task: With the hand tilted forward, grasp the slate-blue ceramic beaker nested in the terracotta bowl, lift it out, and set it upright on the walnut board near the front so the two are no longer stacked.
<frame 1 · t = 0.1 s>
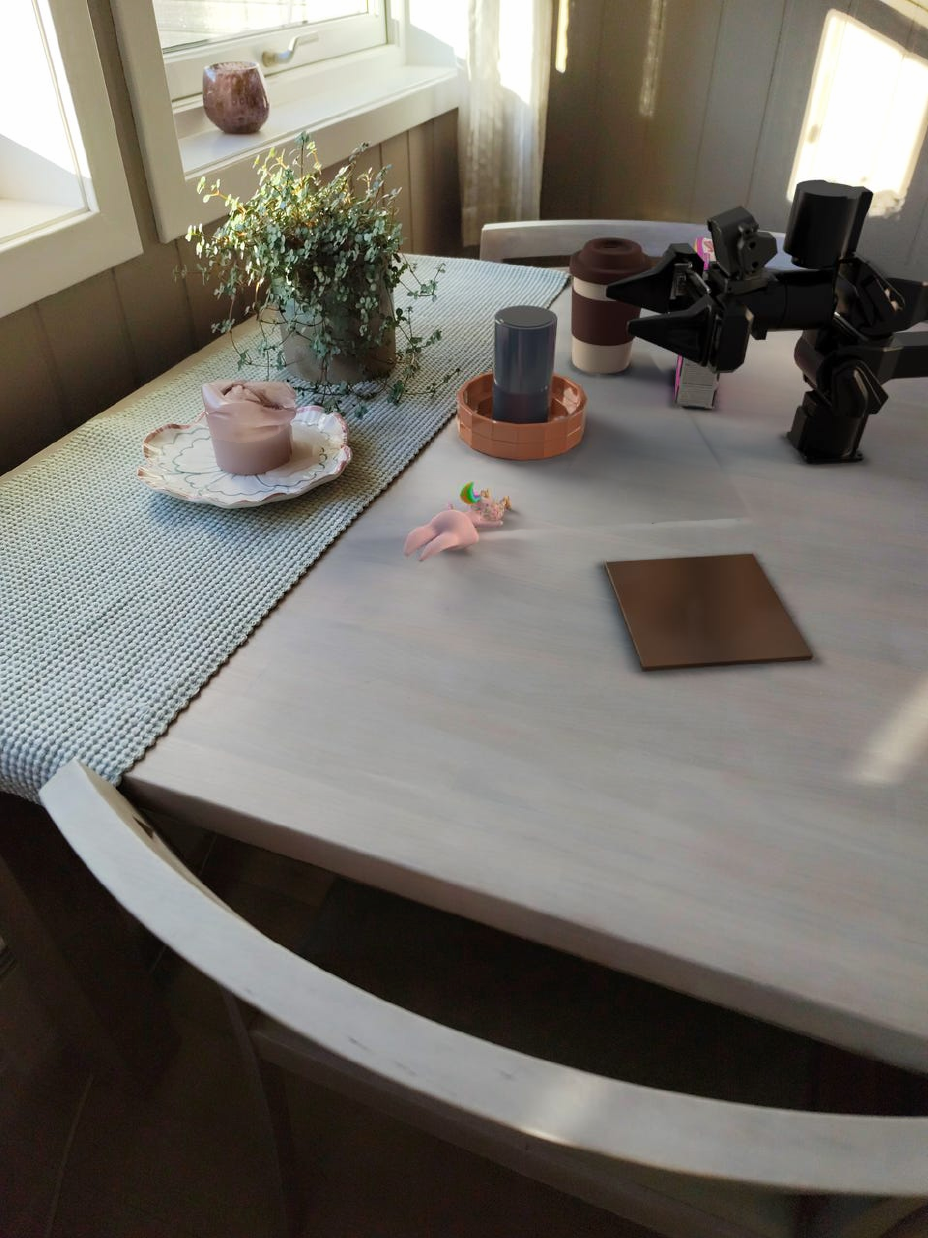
hand: (616, 308, 84), 17 cm above the table, tool horizontal, fingers open, 9 cm apart
coffee cup: (599, 366, 113), on the table
bowl: (520, 432, 99), on the table, touching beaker
rabbit figure: (458, 544, 83), on the table
board: (701, 610, 75), on the table
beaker: (520, 428, 99), resting on bowl
candy bar box: (692, 390, 108), on the table
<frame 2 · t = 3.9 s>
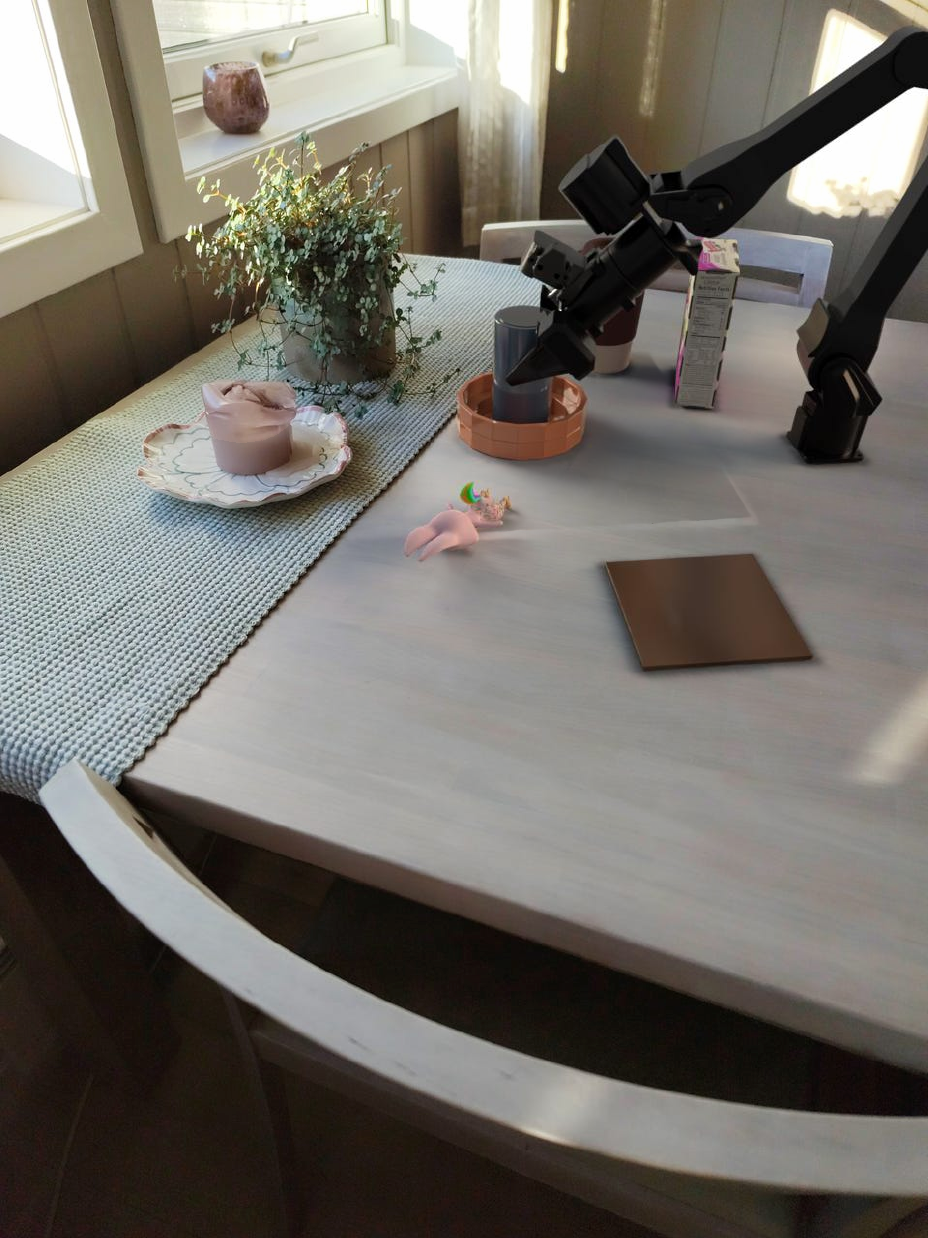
hand: (510, 368, 94), 8 cm above the table, tool tilted 45°, fingers closed on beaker, 6 cm apart
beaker: (520, 428, 99), resting on bowl, touching gripper
everything else where it was.
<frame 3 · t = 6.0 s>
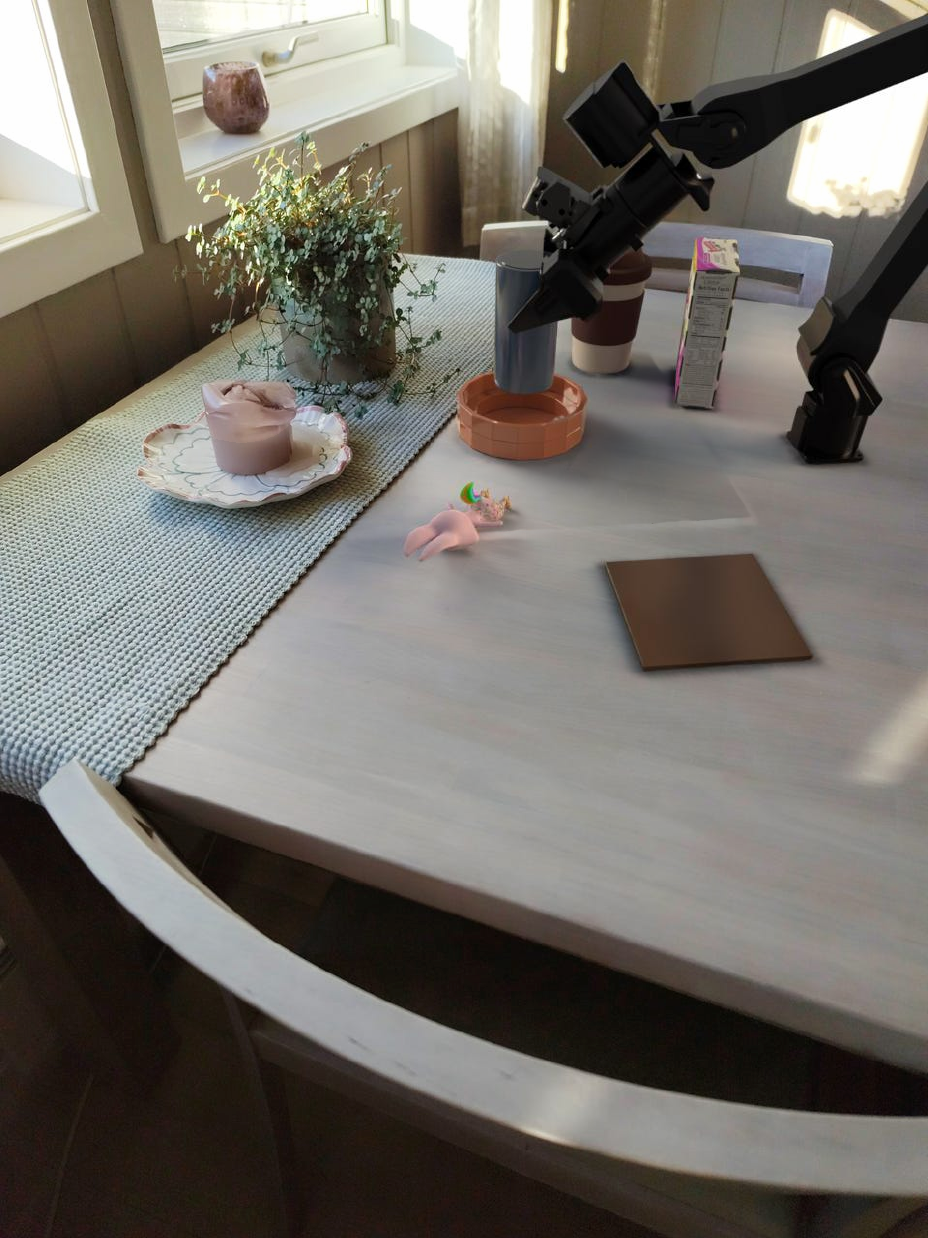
hand: (512, 316, 90), 13 cm above the table, tool tilted 45°, fingers closed on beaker, 6 cm apart
bowl: (520, 432, 99), on the table
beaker: (523, 381, 95), point 6 cm above the table, touching gripper
everything else where it was.
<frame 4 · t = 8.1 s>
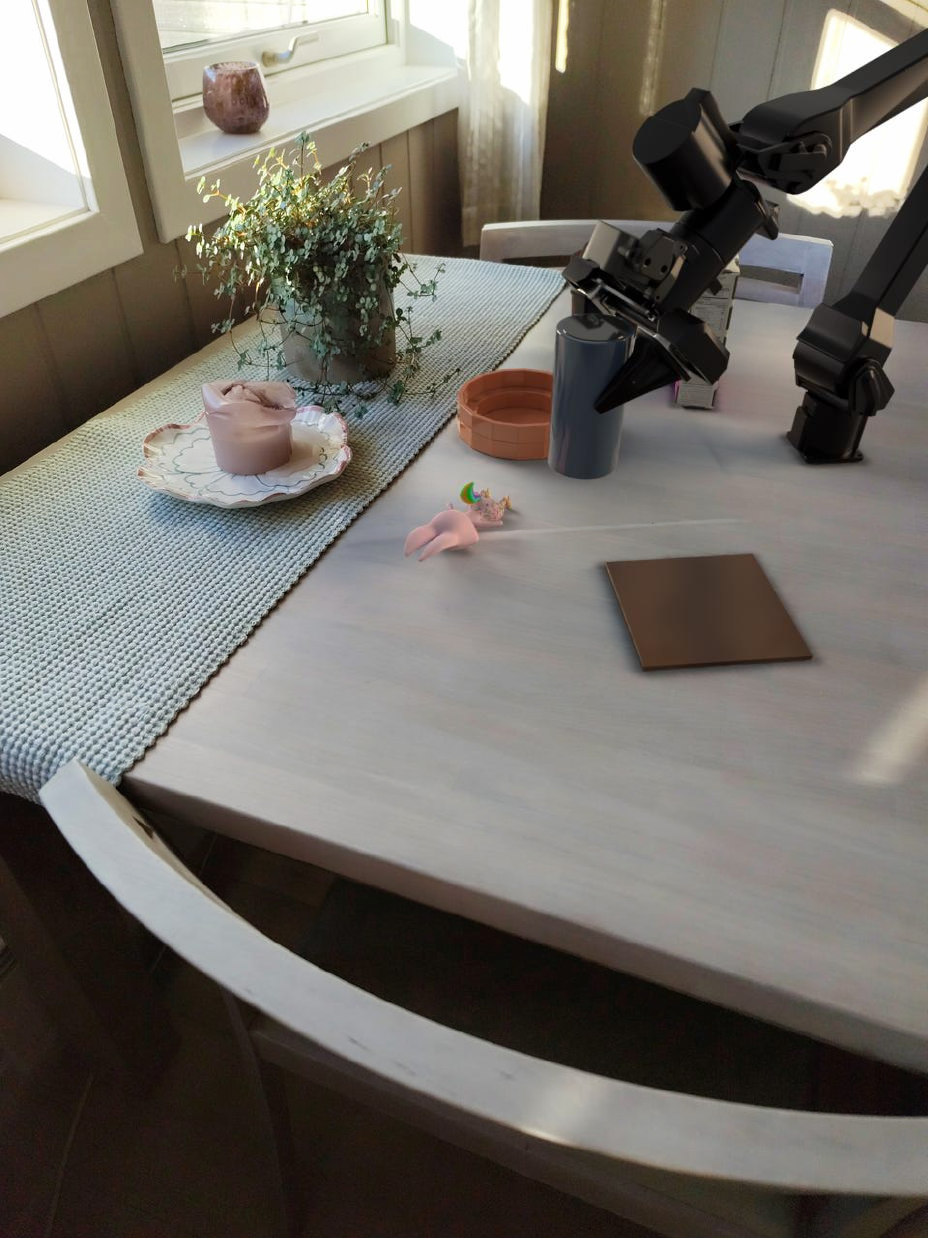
hand: (575, 394, 77), 13 cm above the table, tool tilted 45°, fingers closed on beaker, 6 cm apart
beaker: (582, 461, 82), point 6 cm above the table, touching gripper
everything else where it was.
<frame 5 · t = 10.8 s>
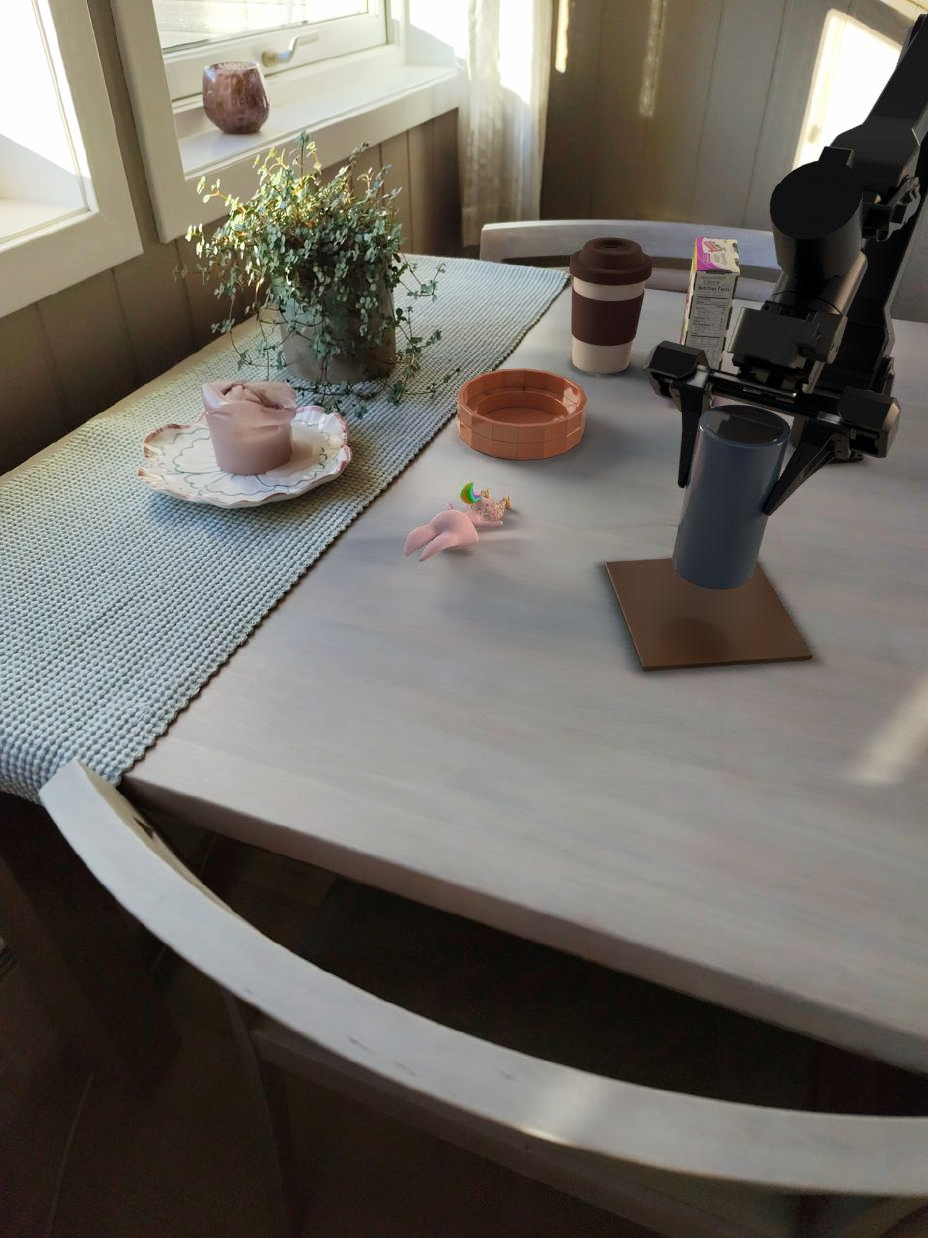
hand: (722, 500, 66), 12 cm above the table, tool tilted 45°, fingers closed on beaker, 6 cm apart
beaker: (712, 565, 72), point 5 cm above the table, touching gripper
everything else where it was.
when the fingers open (8 cm above the table, at t = 12.6 s): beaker stays where it is, resting on board.
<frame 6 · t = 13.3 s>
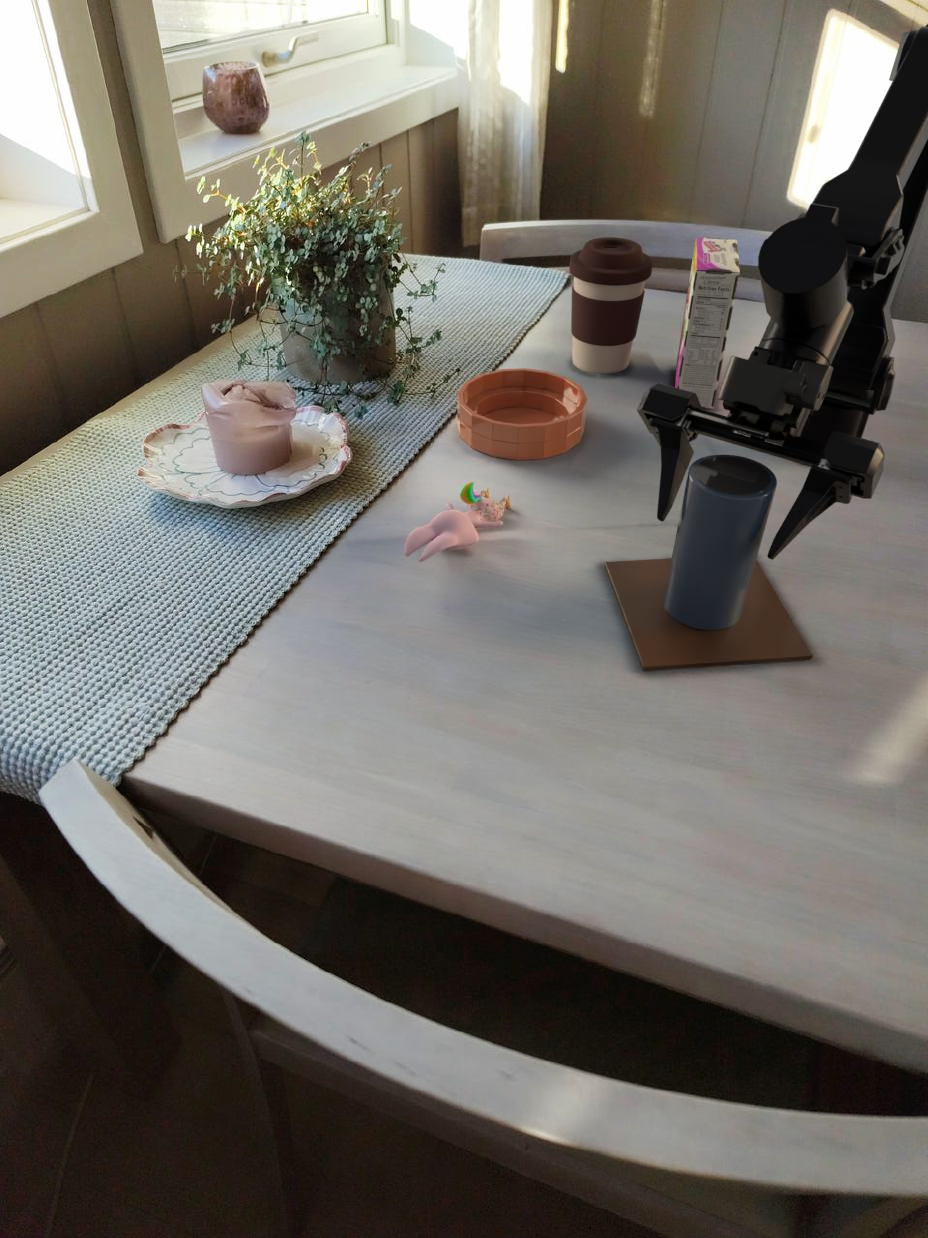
hand: (713, 538, 69), 8 cm above the table, tool tilted 45°, fingers open, 9 cm apart
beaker: (702, 605, 75), resting on board
everything else where it was.
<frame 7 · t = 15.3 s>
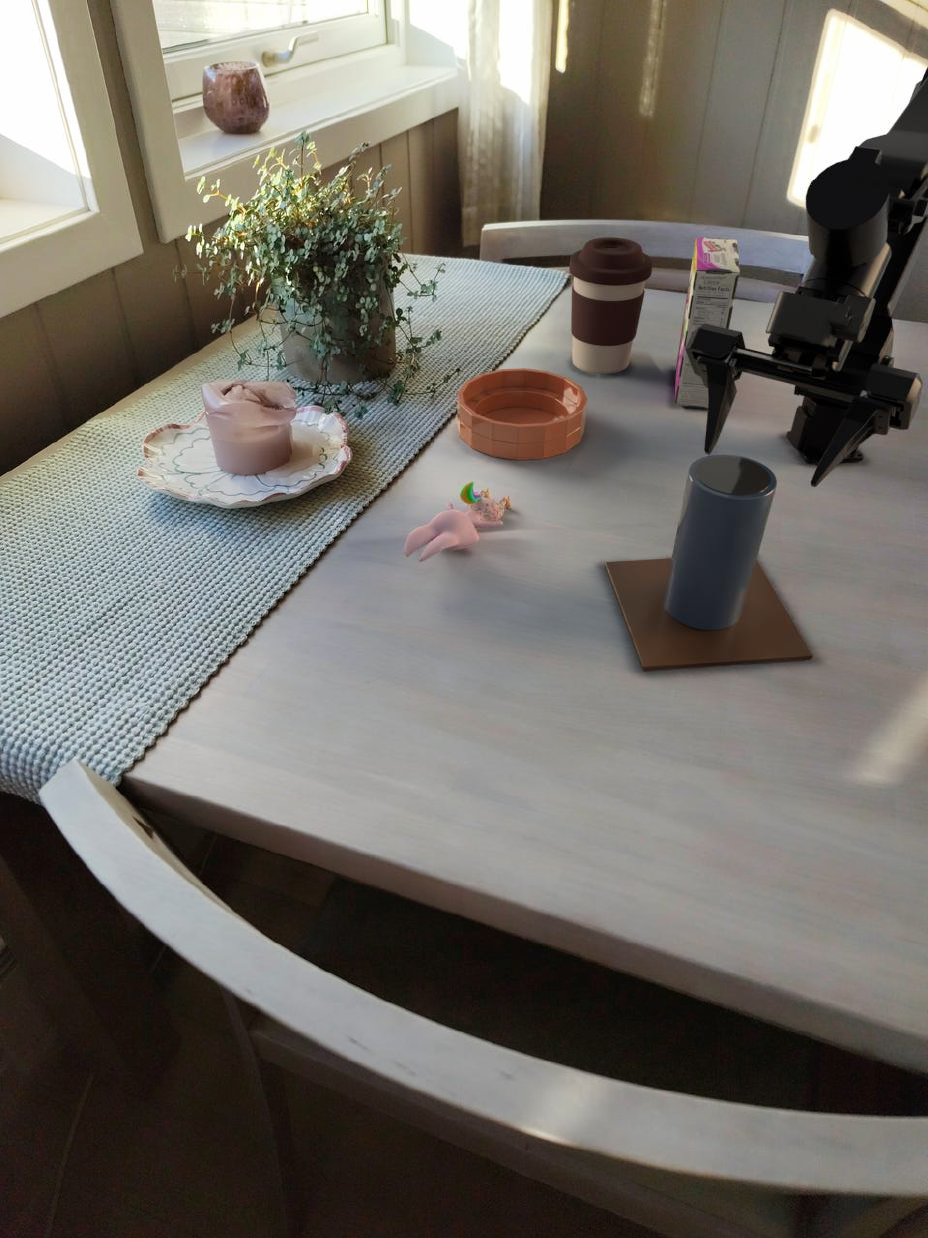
hand: (758, 468, 73), 10 cm above the table, tool tilted 45°, fingers open, 9 cm apart
nothing on the table moved.
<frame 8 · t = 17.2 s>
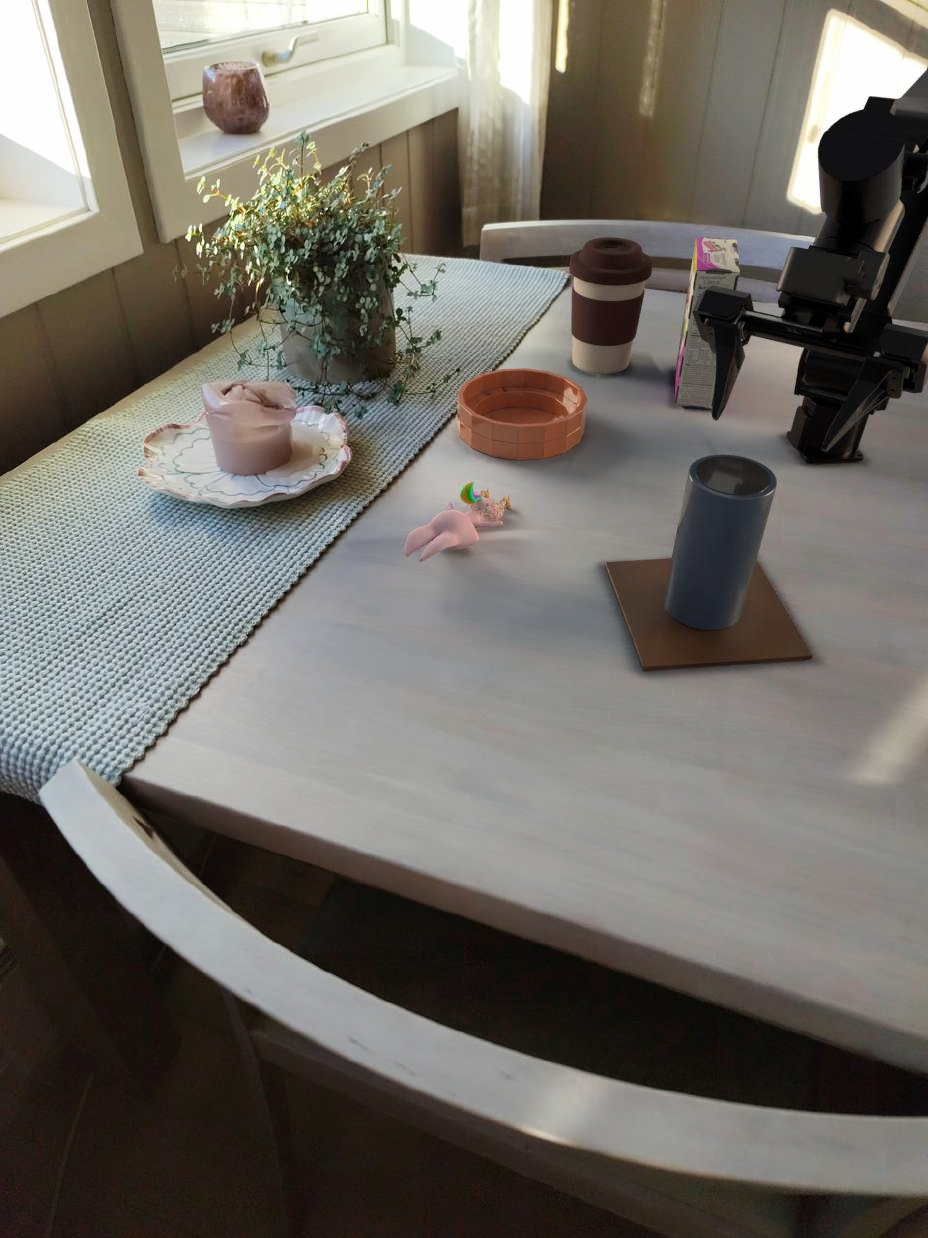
hand: (767, 433, 71), 14 cm above the table, tool tilted 45°, fingers open, 9 cm apart
nothing on the table moved.
at the end: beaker inside the target area on the board (0.0 cm from its centre), point 0.5 cm above the board's base; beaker tilted 0°; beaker touching board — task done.
